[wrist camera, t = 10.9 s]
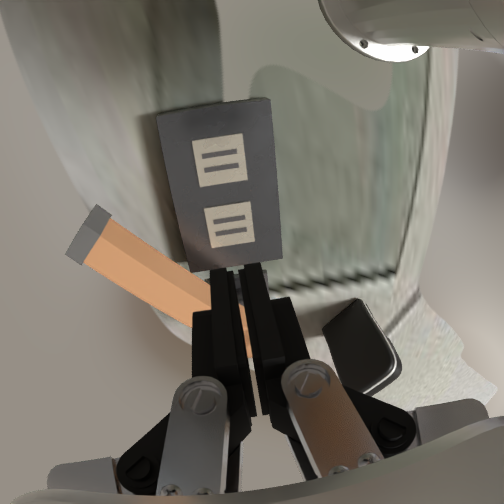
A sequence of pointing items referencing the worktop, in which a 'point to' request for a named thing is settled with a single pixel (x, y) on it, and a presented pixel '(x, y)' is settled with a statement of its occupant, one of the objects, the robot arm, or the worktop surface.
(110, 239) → the swing bar
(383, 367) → the battery charger
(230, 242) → the label panel
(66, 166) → the worktop surface
